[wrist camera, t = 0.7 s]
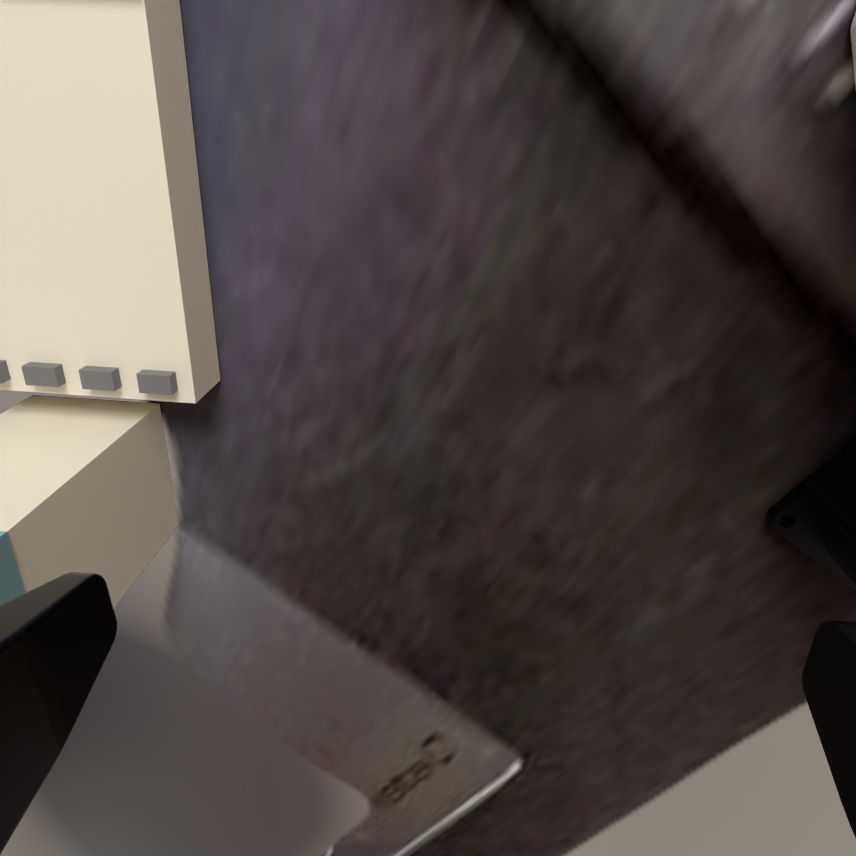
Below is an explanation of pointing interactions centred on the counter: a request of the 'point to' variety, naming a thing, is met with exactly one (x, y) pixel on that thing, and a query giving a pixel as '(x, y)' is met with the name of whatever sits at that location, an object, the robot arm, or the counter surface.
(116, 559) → the cream box
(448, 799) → the counter surface
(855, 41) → the white cup
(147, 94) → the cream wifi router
